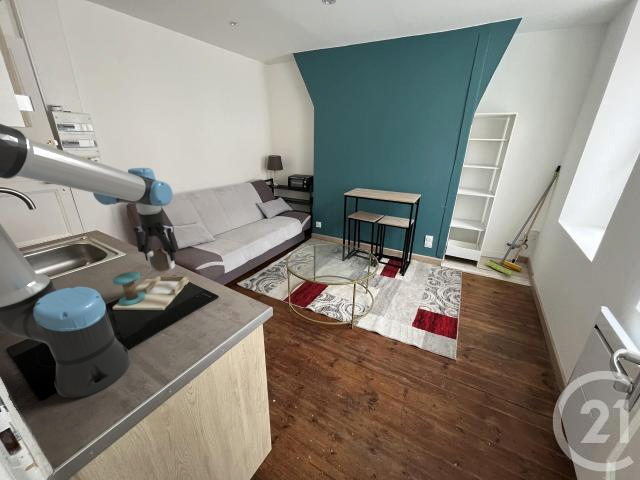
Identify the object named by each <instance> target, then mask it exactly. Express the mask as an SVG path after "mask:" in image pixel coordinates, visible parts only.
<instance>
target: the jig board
mask: <svg viewBox="0 0 640 480" xmlns="http://www.w3.org/2000/svg"><path fill="white" fill-rule="evenodd" d="M140 277H141V275H140V273H139V272H137V271H130V272H124V273H121V274H118V275H116V276H114V278H113V279H112V282H113V284H114V285H119V286H121V285H122V290H123V292H124V295H123V296H122V297H121V298H120V299H119V301H118V302H117V303H116V304H114V305H113V306H112V310H114V311H115V310H117V311H122V310H123V311H125V310H127V311H164V310H165V309H166V308H167V307H168V306H169V305H170V304H171V303H172V302H173V300H175V298H176V297H177V296H178V294H179V293H180V292H181V291H182V290H183V289H184V288H185V287H186V286H187V284H188V283H189V276H188V275H168V274H167V275H164V274H162V275H158V276H156V278H153V279H151V278H149V279H147V278H146V279H144V280H143V281H142V282H141V283H139V285H137V286H136V284H135V282H136V281H138V280H139V279H140ZM185 285H186V286H185ZM184 286H185V287H184Z"/></svg>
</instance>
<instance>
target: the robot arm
mask: <svg viewBox="0 0 640 480" xmlns="http://www.w3.org/2000/svg"><path fill="white" fill-rule="evenodd" d="M16 177H21V178H26V179H30V180H34V181H38V182H43V183H49V184H53V185H57V186H62V187H67V188H71V189H76V190H79V191H84V192H88V193H92V194H93V197H94V199H95V200H96V201H97V202H98V203H100V204H101V205H104V206H110V205H116V204H119V203H121V204H122V203H124V204H132V205H133V204H134V205H135V208H136V211H137V213H138V214H137V215H138V219H139V223H140V225H137V226H136V227H134V228H133V231H134V233H135V236H136V237H135V238H136V245H137V251H138V252H139V253H143V254H144V257H145V260H146V261H148V265H149V269H150V270H153V269H154V267H153V266H152V262H151V260H152V256H153V255H154V251H153V250H152V242H153V237H157V239H158V240H159V241H160V242H161V243H162V245H163V247H164V248H165V251H166V252H167V253H168V254H167V259H168V264H169V268H170V269H169V270H172V269H174V268H175V267H176V264H175V260H176V254H175V253H176V252H178V251H179V250H180V247H179V245H178V241H177V239H176V235H175V232H174V231H175V230H174V228H175V227H174V226H172V225H171V226H168V225H166V223H165V219H164V214H163V211H162V207H165V206H168V205H169V204H170V203H171V202H172V200H173V195H174V194H173V189H172V187H171V185H170V184H168V183H167V182H165V181H161V180H157V179H156V176H155V172H154V170H153V169H152V168H149V167H133V168H132V167H131V168H128V169H127V171H125V170H121V169H118V168H116V167H113V166H110V165H107V164H103V163H100V162H97V161H94V160H92V159H88V158H85V157H84V156H79V155H77V154H74V153H70V152H68V151H65V150H61V149H59V148H57V147H54V146H51V145H47V144H44V143H41V142H39V141H35V140H32V139H29V138H28V136H26V134H25V133H24V132H23V131H22V130H19V129H17V128H14V127H11V126H8V125H6V124H2V123H0V179H5V180H6V179H7V180H10V179H14V178H16ZM144 233H145V234H144ZM0 333H4V334H6V335H9V336H10V335H11V336H17V337H20V338H21V337H22V338H24V339H28V340H33V341H37V342H40V343H44V344H46V345H47V346H48V348H49V350H50V353H51V355H52V356H53V359H54V361H55V377H54V383H53V384H54V387H55V389H56V392H57V393H58V395H59V396H61V397H62V396H63V398H66V399H78V398H79V399H80V398H83V397H87V396H91V395H93V394H96V393H98V392H100V391H102V390H104V389H107V387H109V386H111V385H113V384H114V383H115V382H116V381H118V380H119V379H120V378H121V377H122V376H123V375H124V374H125V373H126V372H127V370H128V368H129V367H130V365H131V361H132V360H131V356H130V351H129V349H128V348H127V347H126V346H124V345H123V343H121V342H120V341H119V340H118V339H117V338H116V336H115V335H116V334H115V333H114V329H113V326H112V323H111V320H110V317H109V315H108V311H107V306H106V303H105V301H104V299H103V298H102V296H101V293H99V292H98V291H97V290H95V289H93V288H91V287H87V286H74V287H73V288H72V287H66V288H60V289H58V288H57V287H56V285H55V284H54V282H53V281H52V279H51V277H49V276H48V275H46V274H44V273H43V274H40V273H36V271H35V270H34V269H33V267H32V266H31V264H30V262H28V260H27V259H26V257H25V256H24V254H23V253H22V252H21V250H20V249H19V247H18V246H17V245H16V244H15V242H14V240H13V239H12V237H10V235H9V233H8V232H7V231H6V229H5V228H4V227H3V225H2V223H0Z"/></svg>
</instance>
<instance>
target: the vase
mask: <svg viewBox="0 0 640 480" xmlns="http://www.w3.org/2000/svg"><path fill="white" fill-rule="evenodd" d="M167 254H168V252H167V251H166V250H164V248H161V247H160V248H156V249H155V251H154V252H153V256H152V260H151V262H152V266H153V267H154V268H153V269H154V270H155V271H157V272H159V273H161V272H162V273H163V272H167V271H169V270H171V269H170V268H169V264H168V259H167Z"/></svg>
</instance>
